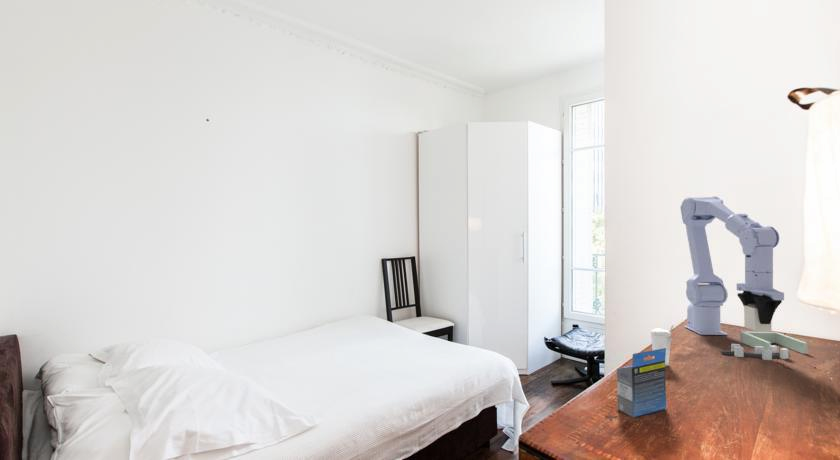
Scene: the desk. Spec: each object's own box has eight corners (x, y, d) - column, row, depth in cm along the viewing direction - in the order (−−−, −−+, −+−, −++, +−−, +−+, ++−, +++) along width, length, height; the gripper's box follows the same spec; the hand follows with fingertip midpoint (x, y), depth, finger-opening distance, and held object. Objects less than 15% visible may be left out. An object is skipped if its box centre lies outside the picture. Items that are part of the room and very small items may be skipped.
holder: (739, 341, 117) (739, 331, 117) (776, 341, 116) (776, 331, 116) (767, 353, 107) (767, 342, 107) (807, 354, 106) (807, 343, 106)
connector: (760, 326, 108) (759, 303, 108) (771, 330, 104) (771, 306, 104) (744, 326, 108) (744, 303, 108) (755, 330, 105) (754, 306, 104)
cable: (719, 352, 108) (719, 349, 108) (786, 353, 106) (786, 350, 106) (729, 357, 104) (729, 354, 104) (798, 358, 102) (798, 355, 102)
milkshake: (678, 367, 98) (678, 327, 98) (657, 367, 98) (657, 328, 98) (667, 360, 103) (667, 323, 102) (647, 361, 103) (646, 323, 103)
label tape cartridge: (649, 401, 81) (649, 342, 80) (667, 409, 77) (666, 347, 77) (616, 409, 78) (616, 347, 77) (633, 418, 74) (632, 354, 74)
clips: (727, 352, 108) (727, 343, 108) (775, 353, 107) (775, 344, 107) (741, 359, 103) (741, 350, 102) (793, 360, 101) (793, 350, 101)
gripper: (725, 268, 114) (725, 314, 114) (762, 275, 99) (762, 328, 99) (751, 268, 113) (751, 315, 113) (793, 275, 98) (793, 329, 99)
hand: (758, 321), depth 106 cm, fingers closed on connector, 4 cm apart
